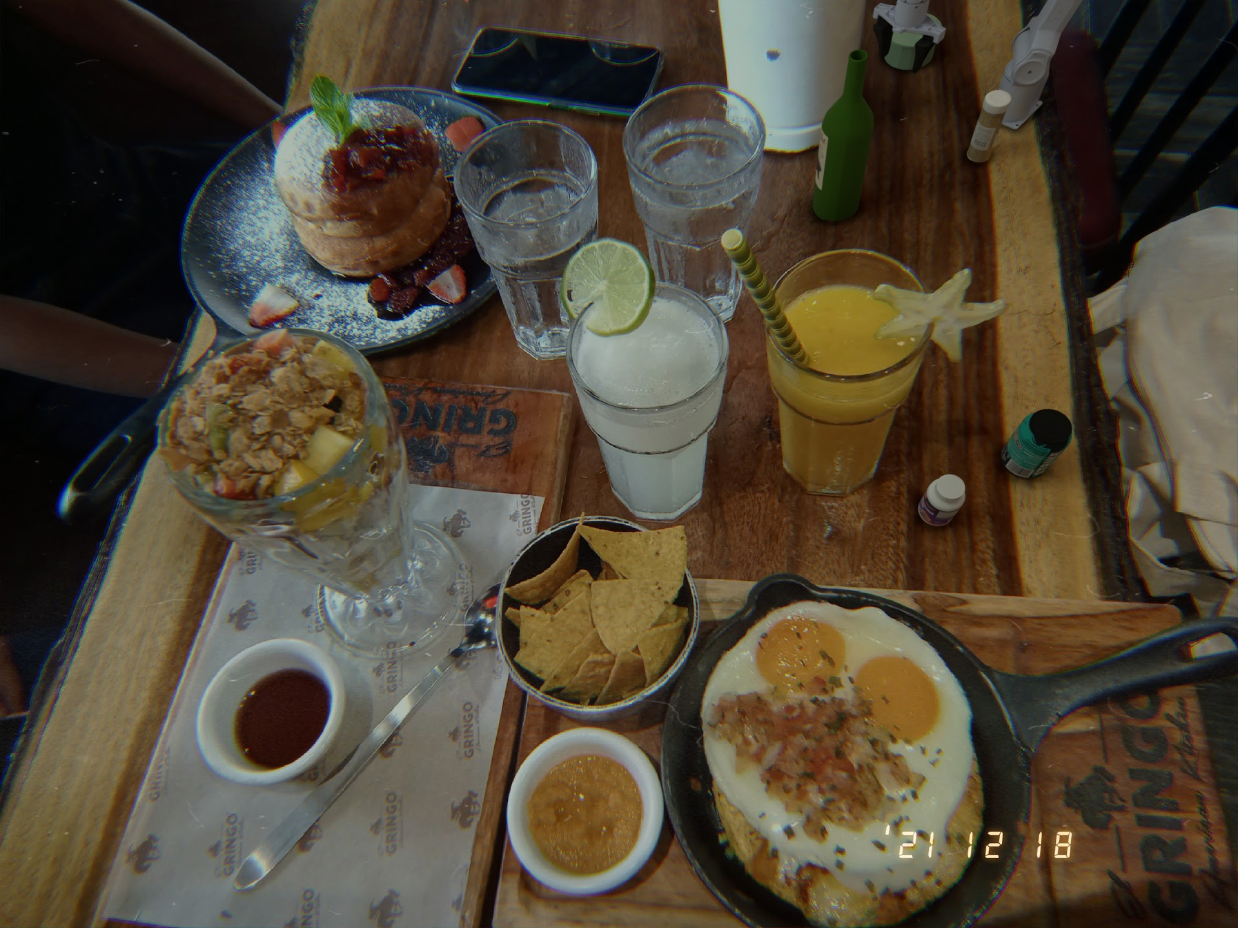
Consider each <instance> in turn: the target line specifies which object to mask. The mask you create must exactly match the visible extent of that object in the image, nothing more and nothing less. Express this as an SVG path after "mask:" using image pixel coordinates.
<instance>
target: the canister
mask: <svg viewBox="0 0 1238 928" xmlns="http://www.w3.org/2000/svg"><path fill="white" fill-rule="evenodd" d="M936 46H937V43H935V45H934V46H933V47H932V49H931V50H930V52H929V53H928V55H927V56H926V58H925V60H924V62H923V64H922V67H921V68H923V67H925V66H926V65H928V64H929V63H930V62H932V60H933V58H934V54H935V51H936ZM883 59H884V60H885V62H886V63H887V64H888V65H889V66H890V67H892V68H895V69H896V70H897V69H898V70H903V71H912V68H913V63H914V59H915V48H905V47H901V46H898V45H896V44H894V43H892V42H891V47H890V51H889V54H888V55H886V56H885V57H884V58H883Z"/></svg>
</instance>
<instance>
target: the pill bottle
mask: <svg viewBox="0 0 1238 928" xmlns="http://www.w3.org/2000/svg"><path fill="white" fill-rule="evenodd" d="M965 500H966V485H965V482H964V480H963V479H962V478H960V477H959V476H958V475H955V474H952V473H951V474H944V475H942V476H940V477H939V478H937V479H935V480H933V481H932V482H931V483H929V485H928V487H927V489H926V491H925V492H924V494H923V496H922V497H921V499H920V501H919V503H918V507H917V510H918V514H919V516H920V518H921V520H923V522H925V523H926V524H928V525H930V526H933V527H942V526H945V525H948V524H949V523H950V522H951V521H952V520H953V519H954V517H955V516H956V515H957V513H958V512H959V510H960V509H961V508H962V506H963V505H964V503H965Z"/></svg>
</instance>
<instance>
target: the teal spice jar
mask: <svg viewBox="0 0 1238 928" xmlns="http://www.w3.org/2000/svg"><path fill="white" fill-rule="evenodd" d="M1072 440H1073V424H1072V422H1071V420H1070V418H1069V417H1068V416H1067V415H1066V414H1064V413H1063V412H1061V411H1059V410H1057V409H1052V408H1043V409H1039V410H1037V411H1033V412H1030V413H1028V414H1027V415H1026V416H1025V417H1024V418H1023V419H1022V420H1021V422H1020V423H1019V424H1018V426H1017V428H1016V429H1015V431H1013V433H1012V434H1011V436H1010V437H1009V439H1008V440H1007V442H1006V443H1005V444H1004V446H1003V448H1002V449H1001V451H1000V462H1001V465H1002V466H1003V468H1004V469H1005V470H1006V471H1007V472H1008V473H1009V474H1011V476H1014V477H1016V478H1017V479H1018V478H1019V479H1022V480H1033V479H1037V478H1039V477H1041V476H1043V475H1044V474H1045V473H1046V472H1047V471H1048V470H1049V468H1050V467H1051V466H1052V465H1053V464H1054V462H1056V460H1057V459H1058V458H1059V457H1060V455H1062V453H1064V451H1065V450H1066V449H1067V448H1068V447H1069V445H1070V444H1071V442H1072Z"/></svg>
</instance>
